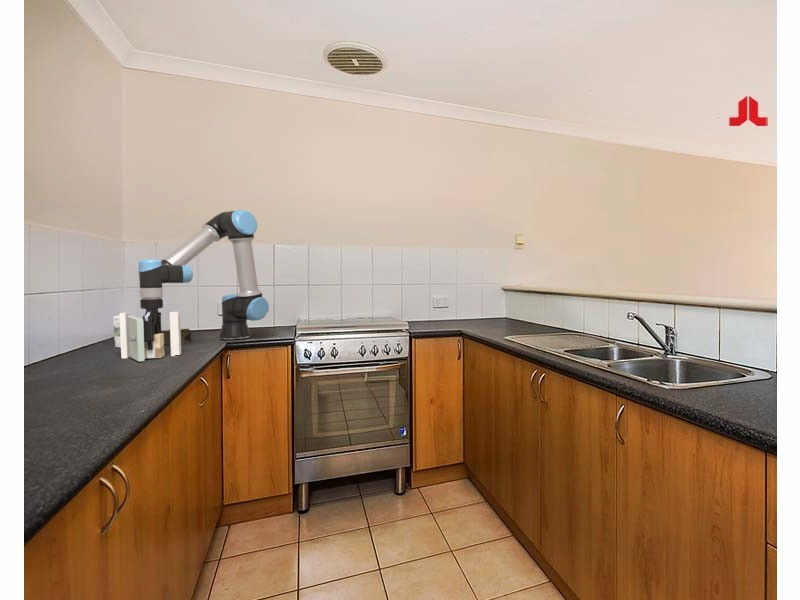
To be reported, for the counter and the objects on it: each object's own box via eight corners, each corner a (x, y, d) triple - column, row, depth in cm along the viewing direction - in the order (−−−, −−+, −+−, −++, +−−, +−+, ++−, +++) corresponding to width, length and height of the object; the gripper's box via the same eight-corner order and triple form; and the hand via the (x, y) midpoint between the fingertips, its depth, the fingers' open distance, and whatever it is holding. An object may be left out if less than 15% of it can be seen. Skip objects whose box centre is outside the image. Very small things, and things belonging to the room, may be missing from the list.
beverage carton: (192, 342, 186) (192, 329, 185) (145, 347, 174) (144, 333, 174) (190, 340, 192) (189, 327, 192) (144, 344, 181) (144, 330, 180)
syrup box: (136, 345, 176) (134, 314, 175) (125, 348, 170) (124, 316, 169) (124, 345, 176) (123, 314, 175) (114, 348, 170) (112, 316, 169)
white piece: (181, 354, 159) (179, 311, 157) (179, 355, 156) (177, 312, 155) (124, 356, 153) (122, 312, 152) (121, 358, 150) (119, 313, 149)
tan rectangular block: (164, 355, 155) (163, 333, 154) (160, 357, 150) (159, 335, 149) (147, 355, 153) (146, 334, 152) (143, 358, 148) (142, 336, 147)
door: (144, 360, 144) (143, 319, 143) (133, 362, 142) (131, 320, 141) (134, 355, 153) (133, 316, 152) (124, 356, 151) (122, 317, 150)
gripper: (148, 297, 157) (151, 352, 159) (131, 300, 140) (134, 361, 142) (169, 296, 159) (171, 351, 161) (154, 300, 142) (157, 360, 144)
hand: (153, 356), depth 151 cm, fingers closed on tan rectangular block, 5 cm apart
